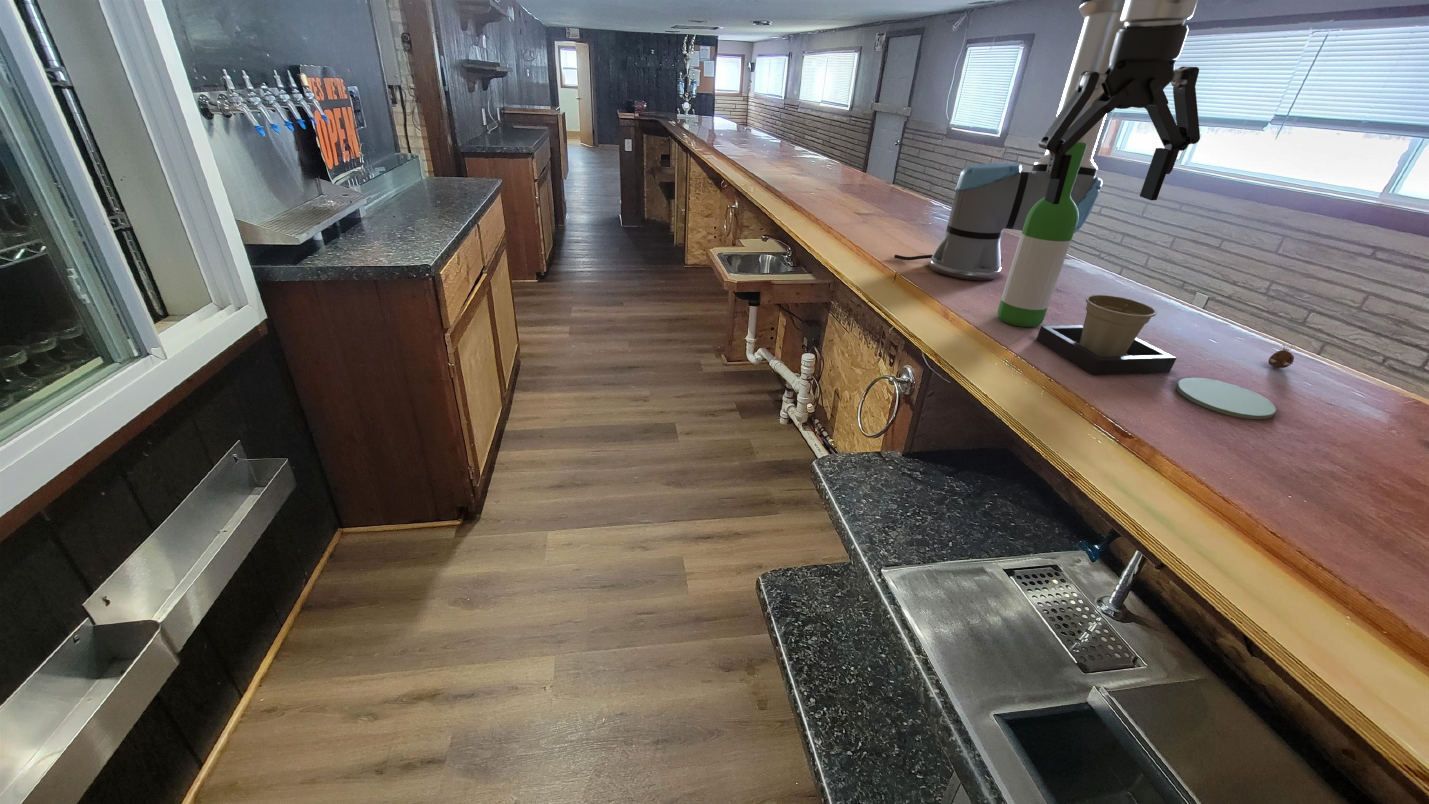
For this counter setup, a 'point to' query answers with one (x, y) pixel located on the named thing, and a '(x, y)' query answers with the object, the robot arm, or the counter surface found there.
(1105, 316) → the flower pot
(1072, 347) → the holder
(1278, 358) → the chocolate
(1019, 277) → the wine bottle
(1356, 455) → the counter surface
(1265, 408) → the coaster
